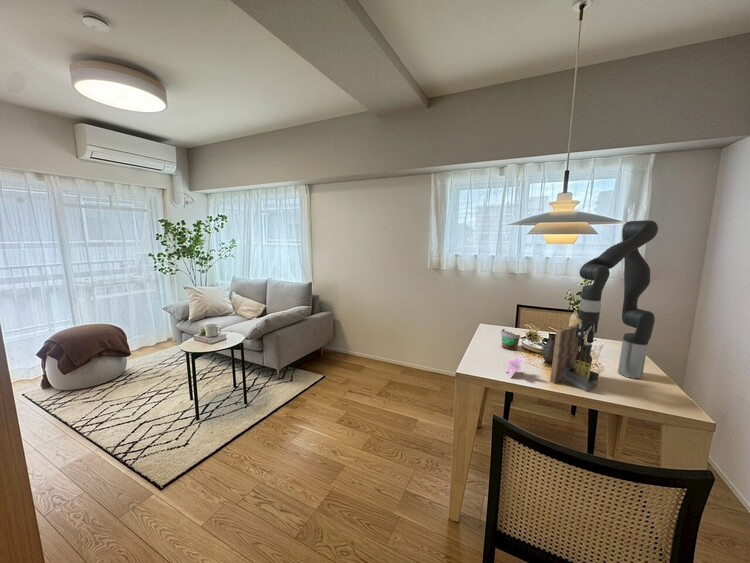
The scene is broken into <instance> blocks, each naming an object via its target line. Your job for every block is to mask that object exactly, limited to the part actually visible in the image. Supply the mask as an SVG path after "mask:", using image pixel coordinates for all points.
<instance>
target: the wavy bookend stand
mask: <svg viewBox="0 0 750 563" xmlns="http://www.w3.org/2000/svg"><path fill="white" fill-rule="evenodd" d="M576 329H577V324H574V325H570V326H567V327H564V328H559V329H556V330H555V339H554V345H553V356H552V363H551V364H552V365H551V373H550V379H549V380H550V381H549V382H550V383H551V384H554V385H555V384H558V383H559V382H562V383H564V384H566V385H568V386H571V387H574V388H577V389H579V390H581V391H583V390H584V391H583V392H589V391H591V390H592V388H593V389H595V388H596V387H598V382H599V376H600V373H598V372H595V371H593V370H590V375H589V378H587V377H584V376H581V375H579V374H576V373H573V369H574V364H575V360H576V355H577V354H578V353H579V352H580V350H581V346H578V337H576ZM578 334H579V333H578ZM590 389H591V390H590Z"/></svg>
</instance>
